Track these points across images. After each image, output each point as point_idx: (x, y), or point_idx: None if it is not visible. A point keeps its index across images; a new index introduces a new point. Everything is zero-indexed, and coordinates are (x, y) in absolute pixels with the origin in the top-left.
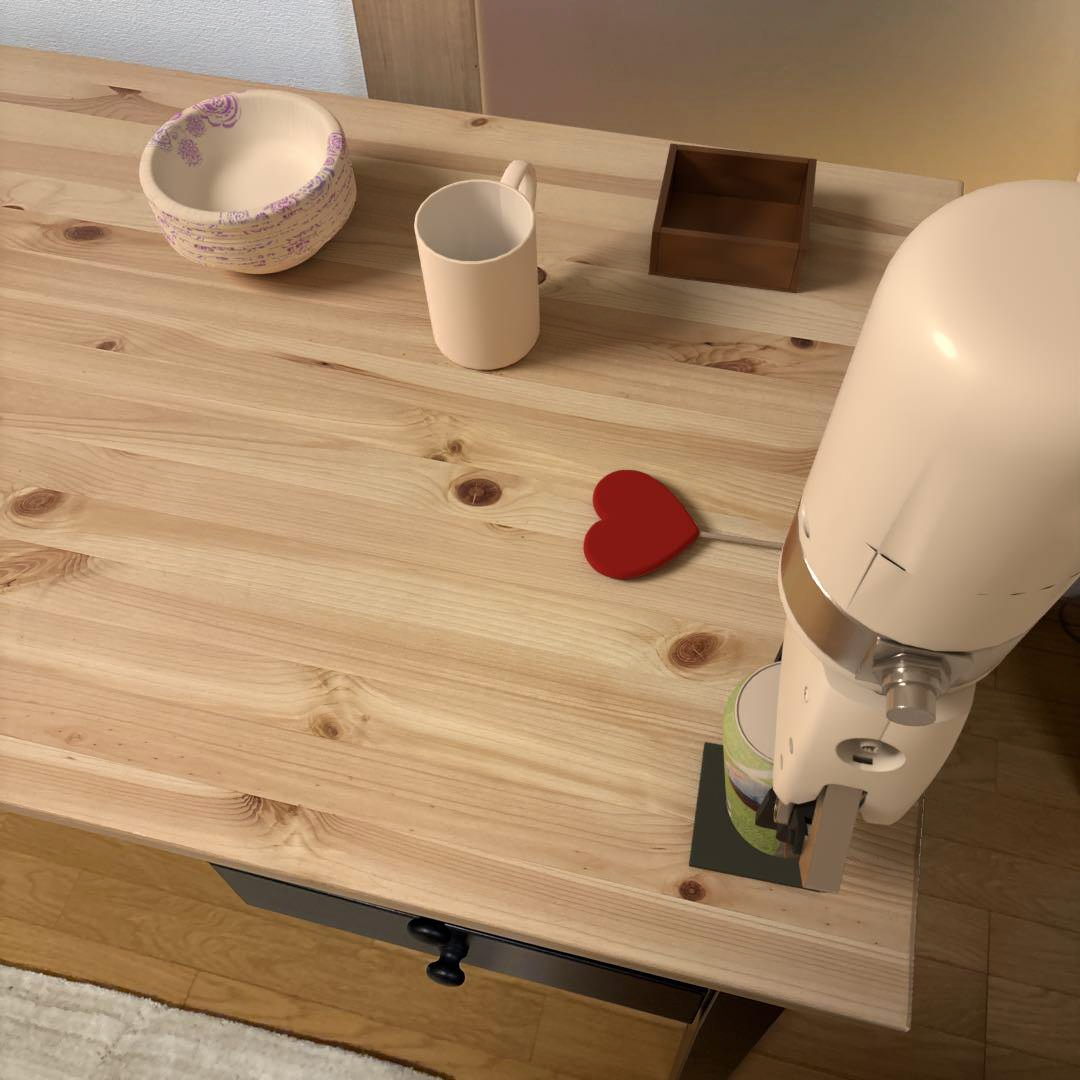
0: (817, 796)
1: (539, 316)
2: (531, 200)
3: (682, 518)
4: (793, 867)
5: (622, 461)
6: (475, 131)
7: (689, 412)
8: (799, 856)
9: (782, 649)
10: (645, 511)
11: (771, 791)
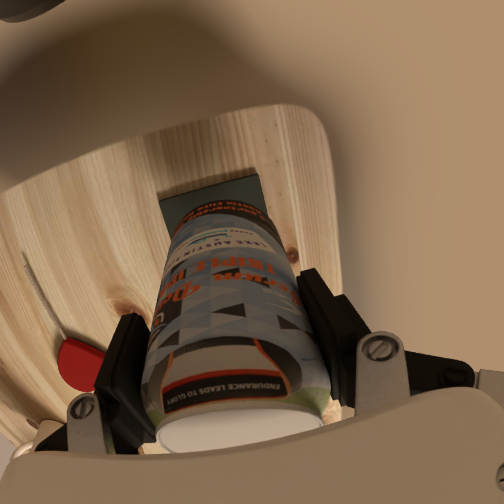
0: (355, 388)
1: (42, 424)
2: (16, 452)
3: (65, 352)
4: (250, 199)
5: (63, 379)
6: (13, 442)
7: (18, 356)
8: (275, 227)
9: (154, 442)
10: (77, 369)
11: (344, 404)
